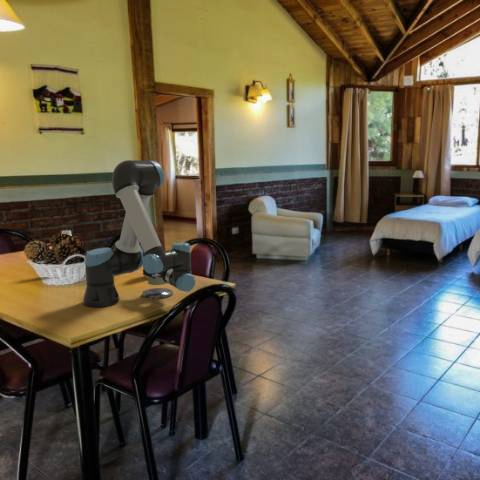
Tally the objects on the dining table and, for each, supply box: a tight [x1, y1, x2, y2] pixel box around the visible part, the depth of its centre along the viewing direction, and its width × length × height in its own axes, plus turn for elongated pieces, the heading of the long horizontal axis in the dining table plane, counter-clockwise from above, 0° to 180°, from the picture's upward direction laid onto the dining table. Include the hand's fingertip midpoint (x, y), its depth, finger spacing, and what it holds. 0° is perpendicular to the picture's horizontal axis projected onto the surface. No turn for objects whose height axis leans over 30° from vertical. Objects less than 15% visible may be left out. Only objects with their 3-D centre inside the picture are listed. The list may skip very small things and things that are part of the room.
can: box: [147, 276, 168, 286], centre depth 216 cm, size 9×9×12 cm
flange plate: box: [141, 287, 174, 300], centre depth 218 cm, size 14×14×1 cm
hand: (153, 267), depth 219 cm, fingers closed on can, 9 cm apart
